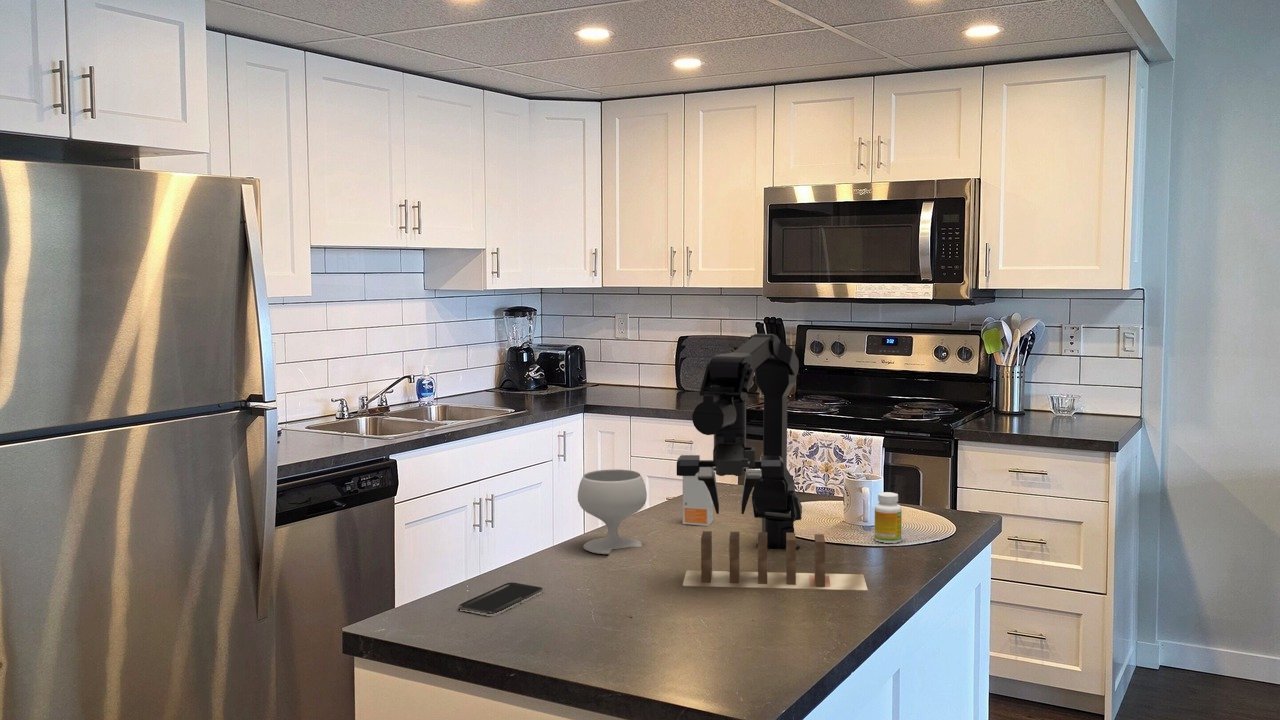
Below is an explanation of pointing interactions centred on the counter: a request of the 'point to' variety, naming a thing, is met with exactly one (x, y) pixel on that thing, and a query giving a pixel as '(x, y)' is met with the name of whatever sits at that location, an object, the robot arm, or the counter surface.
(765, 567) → the domino
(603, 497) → the chalice
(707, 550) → the domino
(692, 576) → the domino board
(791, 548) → the domino
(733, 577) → the domino
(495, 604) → the phone
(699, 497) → the skincare box
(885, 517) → the supplement bottle
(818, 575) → the domino
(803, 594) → the counter surface
